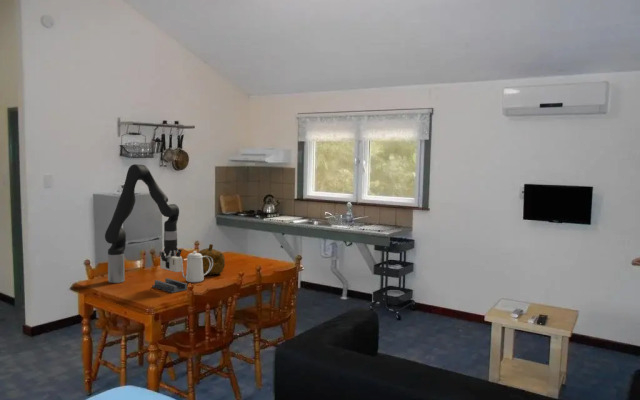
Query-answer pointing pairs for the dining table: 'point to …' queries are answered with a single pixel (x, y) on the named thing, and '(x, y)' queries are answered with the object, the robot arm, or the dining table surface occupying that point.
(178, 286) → the bottom track
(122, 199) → the robot arm
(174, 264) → the white rectangular block
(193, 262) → the coffeepot
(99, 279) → the dining table surface
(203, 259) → the decorative pumpkin
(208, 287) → the dining table surface
